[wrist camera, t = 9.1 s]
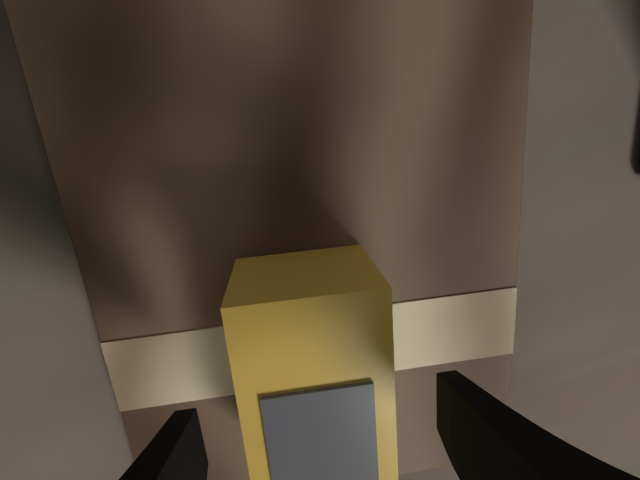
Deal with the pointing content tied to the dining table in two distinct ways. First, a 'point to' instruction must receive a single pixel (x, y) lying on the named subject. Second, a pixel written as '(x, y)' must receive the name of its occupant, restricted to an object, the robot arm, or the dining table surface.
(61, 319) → the dining table surface
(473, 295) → the board
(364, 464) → the block
